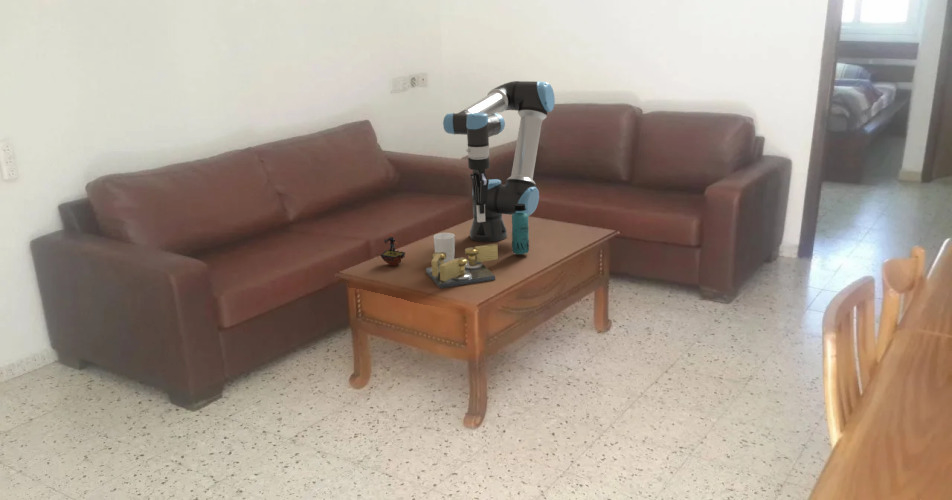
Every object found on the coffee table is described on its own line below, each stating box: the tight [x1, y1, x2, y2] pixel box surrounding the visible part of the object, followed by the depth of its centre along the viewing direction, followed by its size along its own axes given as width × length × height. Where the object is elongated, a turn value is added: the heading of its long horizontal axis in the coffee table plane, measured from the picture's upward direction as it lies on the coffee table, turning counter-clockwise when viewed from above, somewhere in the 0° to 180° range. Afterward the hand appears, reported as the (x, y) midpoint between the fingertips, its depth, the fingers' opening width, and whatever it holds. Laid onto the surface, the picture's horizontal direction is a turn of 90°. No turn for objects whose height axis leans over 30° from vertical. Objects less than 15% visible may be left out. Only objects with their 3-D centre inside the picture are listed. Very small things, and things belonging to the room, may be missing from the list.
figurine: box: [380, 234, 406, 267], centre depth 292 cm, size 10×8×12 cm
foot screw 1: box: [431, 252, 446, 276], centre depth 276 cm, size 12×5×6 cm, turn 172°
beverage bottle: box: [511, 203, 530, 255], centre depth 295 cm, size 6×7×20 cm
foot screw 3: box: [464, 243, 499, 265], centre depth 284 cm, size 12×5×6 cm, turn 109°
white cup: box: [433, 232, 456, 263], centre depth 294 cm, size 8×8×10 cm
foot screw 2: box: [440, 257, 469, 281], centre depth 270 cm, size 12×5×6 cm, turn 139°
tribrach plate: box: [425, 261, 496, 289], centre depth 279 cm, size 20×18×3 cm
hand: (481, 221), depth 286 cm, fingers closed
